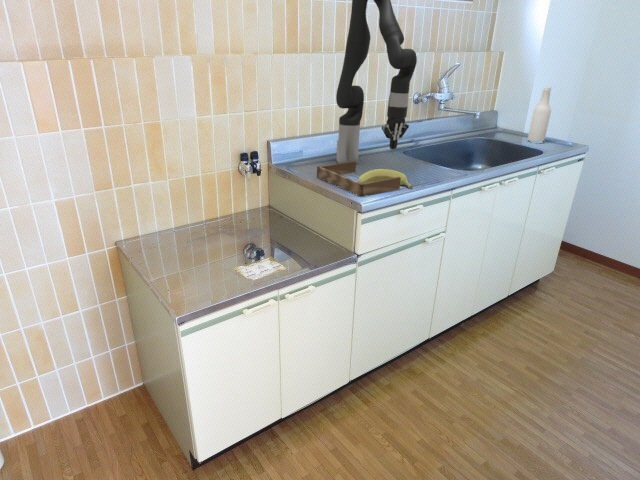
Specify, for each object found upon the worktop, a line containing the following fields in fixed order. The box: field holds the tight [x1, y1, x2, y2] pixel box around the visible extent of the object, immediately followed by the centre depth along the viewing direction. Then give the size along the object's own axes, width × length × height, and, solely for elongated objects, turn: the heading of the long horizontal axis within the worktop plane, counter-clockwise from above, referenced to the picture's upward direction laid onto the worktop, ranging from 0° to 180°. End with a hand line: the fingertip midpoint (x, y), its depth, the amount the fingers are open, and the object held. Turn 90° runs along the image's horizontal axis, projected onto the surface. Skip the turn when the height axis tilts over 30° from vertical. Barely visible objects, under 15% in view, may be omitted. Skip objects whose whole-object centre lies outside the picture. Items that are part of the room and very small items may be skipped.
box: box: [316, 161, 401, 197], centre depth 178 cm, size 28×19×4 cm
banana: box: [357, 168, 414, 189], centre depth 177 cm, size 14×6×20 cm
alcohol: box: [527, 86, 552, 141], centre depth 255 cm, size 9×9×30 cm
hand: (392, 148), depth 184 cm, fingers closed
